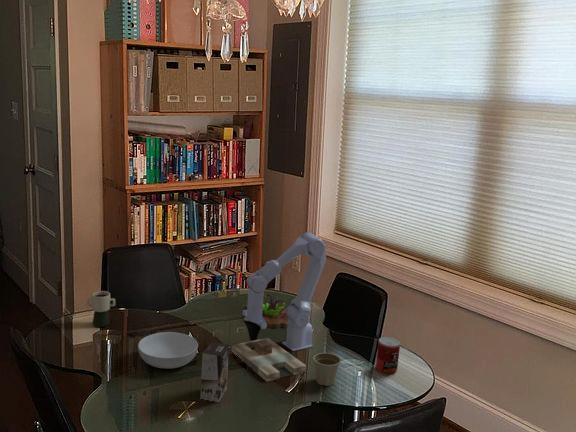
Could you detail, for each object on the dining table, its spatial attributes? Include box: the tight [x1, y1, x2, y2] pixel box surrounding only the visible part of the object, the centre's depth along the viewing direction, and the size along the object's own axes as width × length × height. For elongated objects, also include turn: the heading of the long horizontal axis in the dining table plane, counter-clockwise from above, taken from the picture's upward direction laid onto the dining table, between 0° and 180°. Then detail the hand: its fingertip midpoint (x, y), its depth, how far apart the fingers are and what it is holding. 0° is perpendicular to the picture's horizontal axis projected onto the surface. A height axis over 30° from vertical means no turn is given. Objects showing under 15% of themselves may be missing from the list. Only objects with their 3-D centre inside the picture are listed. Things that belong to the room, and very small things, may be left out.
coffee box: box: [200, 342, 230, 403], centre depth 210 cm, size 9×6×16 cm
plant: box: [262, 293, 288, 330], centre depth 276 cm, size 20×20×11 cm
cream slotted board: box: [230, 337, 307, 382], centre depth 237 cm, size 16×26×2 cm, turn 33°
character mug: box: [86, 290, 116, 328], centre depth 258 cm, size 11×7×13 cm, turn 97°
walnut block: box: [255, 340, 272, 355], centre depth 239 cm, size 4×4×4 cm
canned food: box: [375, 336, 401, 375], centre depth 236 cm, size 8×8×11 cm
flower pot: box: [313, 352, 342, 387], centre depth 224 cm, size 9×9×9 cm
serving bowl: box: [137, 331, 199, 370], centre depth 231 cm, size 21×21×7 cm
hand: (253, 339), depth 245 cm, fingers closed
